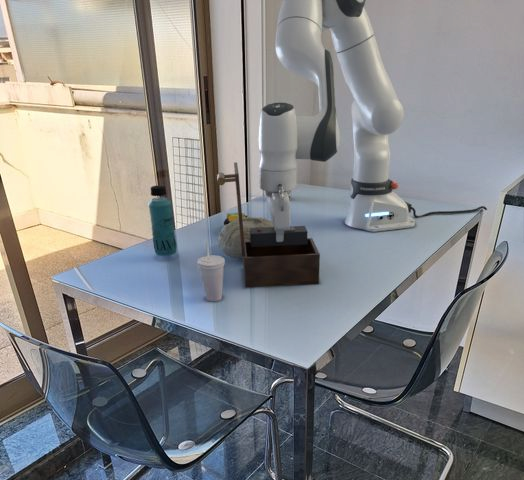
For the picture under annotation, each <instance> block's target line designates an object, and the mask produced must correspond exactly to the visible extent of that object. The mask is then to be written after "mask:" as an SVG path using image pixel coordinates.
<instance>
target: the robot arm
mask: <svg viewBox="0 0 524 480" xmlns="http://www.w3.org/2000/svg"><path fill="white" fill-rule="evenodd" d="M365 4H366V0H282V2H281V6H280V9H279V13H278V18H277V24H276V31H275V32H276V33H275V38H274V39H275V43H274V45H275V48H274V49H275V54H276V57H277V59H278V61H279V62H280V63H281V65H282V66H283V67H284V68H285V69H286V70H288V71H289V72H291V73H292V74H295V75H297V76H300V77H303V78H306V79H307V80H309V81H311V82H312V83H314V84H315V85H316V86H317V88H318V89H317V90H318V91H317V92H318V107H319V108H318V109H319V112H318V113H317V114H316V115H297V114H296V109H295V106H294V105H293V104H291V103H287V102H272V103H269V104H268V103H267V104H266V105H264V106H263V107H262V108H261V110H260V115H259V125H258V151H259V153H260V162H259V166H258V170H259V171H258V172H259V190H262V191H264V196H265V197H266V202H267V207H268V211H269V215H270V218H271V222H272V223H273V226H274V229H275V230H276V241H277V242H283V238H284V231H286V230H289V228H290V226H291V202H290V197H291V196H292V191H294V190H296V189H297V188H298V163H297V160H311V161H316V162H323V163H326V162H328V161H329V160H331V158H333V157H334V156H335V155H337V153H338V150H339V147H340V143H341V142H340V141H341V133H340V127H339V123H338V119H337V105H336V104H337V101H336V87H335V74H334V73H335V72H334V64H333V57H332V54H331V52H330V50H328V49H326V48H325V46H324V45H323V43H322V34H323V33H322V32H324V31H326V30H330V36H331V40H332V44H333V48H334V51H335V54H336V57H337V60H338V63H339V66H340V69H341V73H342V75H343V79H344V81H345V83H346V85H347V87H348V89H349V91H350V93H351V95H352V98H353V101H352V103H351V107H350V114H351V121H352V138H353V170H352V178H351V180H350V188H349V190H350V191H349V197H350V201H349V206H348V211H347V214H346V217H345V220H344V223H345V225H347V226H348V227H351V228H354V229H358V230H365V231H368V232H372V233H376V232H384V231H385V232H386V231H393V230H400V229H402V230H403V229H411V228H414V227H415V225H416V221H415V219H414V218H416V219H417V218H418V219H419V218H424V217H427V216H430V215H440V214H441V215H443V214H445V215H447V214H464V213H474V212H477V211H479V210H481V209H483V210H484V211H488V208H487V207H486V206H484V205H480V206H479V207H477V208H473V209H465V210H446V211H445V210H443V211H440V210H439V211H437V210H436V211H429V212H427V213H424V214H422V215H417V213H416V209H415V207H413V204H411V203H409V202H407V201H405V200H404V199H402V198H401V197H400V196H399V195H398V194H397V193H395V192H394V191H396V190H397V189H398V188H399V184H398V183H397V181H393V180H392V179H390V178H389V174H390V166H391V165H390V164H391V156H392V155H391V154H392V153H391V149H390V144H389V135H391V134H393V133H395V132H396V131H398V129H399V128H400V127H401V126H402V124H403V121H404V117H405V110H404V107H403V105H402V103H401V101H400V100H399V98H398V95H397V93H396V90H395V88H394V85H393V84H392V81H391V78H390V77H389V74H388V72H387V70H386V67H385V65H384V63H383V59H382V56H381V53H380V49H379V45H378V42H377V38H376V35H375V32H374V28H373V26H372V23H371V20H370V17H369V15H368V13H367V10H366V9H365ZM393 190H394V191H393ZM289 196H290V197H289ZM411 212H412V214H413V217H414V218H413V217H412V216H410V214H411ZM409 213H410V214H409Z"/></svg>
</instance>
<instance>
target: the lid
mask: <svg viewBox="0 0 524 480" xmlns="http://www.w3.org/2000/svg"><path fill="white" fill-rule="evenodd" d="M233 170H234V173H230V174H229V173H228V174H225V173H224V172H219V173H218V174H217V177H216V181H217V184H218V185H220V186H224V185H225V184H226V183H234V182H235V191H236V192H235V194H236V204H237V212H238V217H239V229H240V240H241V250H242V257H243V256H245V245H244V233H243V221H242V213H243V212H242V211H243V209H242V198H241V197H242V196H241V186H240V185H241V184H240V175H239V173H240V172H239V167H238V162H237V161H236V162H233Z"/></svg>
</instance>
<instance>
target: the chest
mask: <svg viewBox="0 0 524 480" xmlns="http://www.w3.org/2000/svg"><path fill="white" fill-rule="evenodd" d="M244 245H245V256H243V259H242V267H243V268H242V269H243V279H244V288H246V289H247V288H265V287H282V286H283V287H284V286H301V285H302V286H303V285H319V284H320V266H321V265H320V264H321V263H320V261H321V254H320V252H319V249H318V247H317V246H316V243H315V241H314V238H313V237H307V245H288V246H265V247H251V242H250V241H244Z"/></svg>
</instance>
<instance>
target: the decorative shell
mask: <svg viewBox="0 0 524 480" xmlns="http://www.w3.org/2000/svg"><path fill="white" fill-rule="evenodd" d="M242 221H243V233H244V241H250V228H263V227H274V226H273V222H272V220H271V221H270V220H269V219H267V218H265V217H264V218H263V217H251V216H247V217H243V218H242ZM223 226H224V227H223V228H222V229H221V230H220V232H219V235H218V237H217V246H218V247H219V249H220V250H221V251H222V252H223V253H224V254H225V255H226V256H228V257H230V258H232V259H239V260H243V257H242V250H241V240H240V229H239V218H238V219H236V220H234V221H231V222H230V223H229V224H225V225H223Z"/></svg>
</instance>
